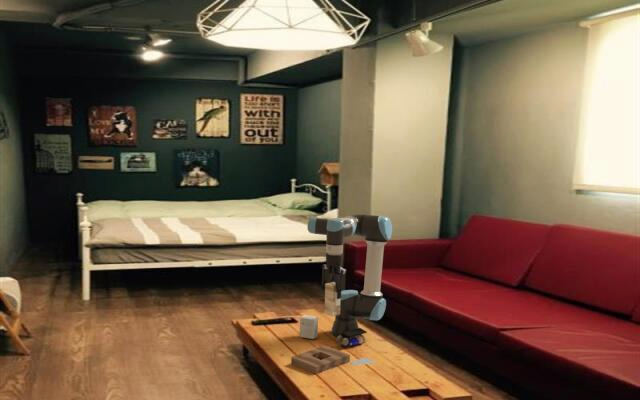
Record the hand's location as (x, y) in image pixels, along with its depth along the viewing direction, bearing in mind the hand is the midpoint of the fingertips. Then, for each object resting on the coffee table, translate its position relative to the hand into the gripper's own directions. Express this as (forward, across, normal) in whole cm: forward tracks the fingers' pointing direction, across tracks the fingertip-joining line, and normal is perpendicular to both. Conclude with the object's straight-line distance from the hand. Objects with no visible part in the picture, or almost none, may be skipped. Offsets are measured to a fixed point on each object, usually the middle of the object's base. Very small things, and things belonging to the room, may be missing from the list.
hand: (332, 303), depth 262 cm
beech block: (+5, 0, 0) cm, 5 cm away
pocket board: (+28, -3, -4) cm, 29 cm away
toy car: (+26, -11, +18) cm, 34 cm away
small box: (+29, -34, +18) cm, 48 cm away
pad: (+29, +11, +12) cm, 33 cm away
